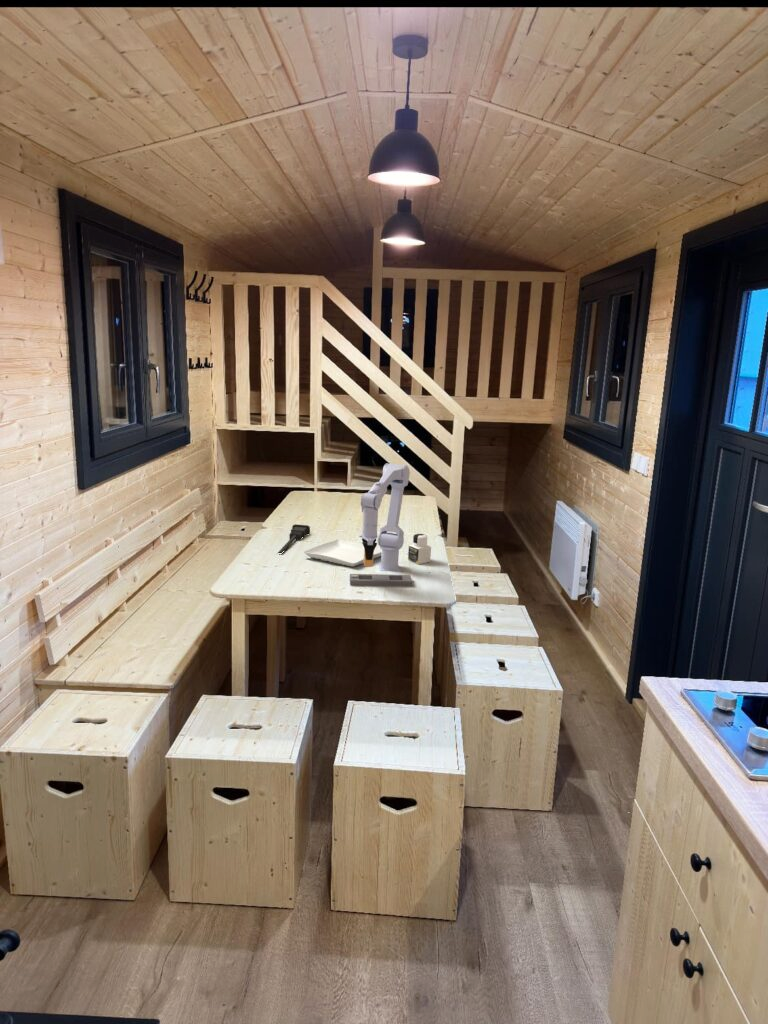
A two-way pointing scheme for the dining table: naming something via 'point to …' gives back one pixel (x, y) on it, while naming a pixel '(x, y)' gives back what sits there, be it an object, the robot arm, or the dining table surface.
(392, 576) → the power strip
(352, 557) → the square plate
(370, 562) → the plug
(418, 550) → the medicine bottle
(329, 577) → the dining table surface
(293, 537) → the electrical plug
